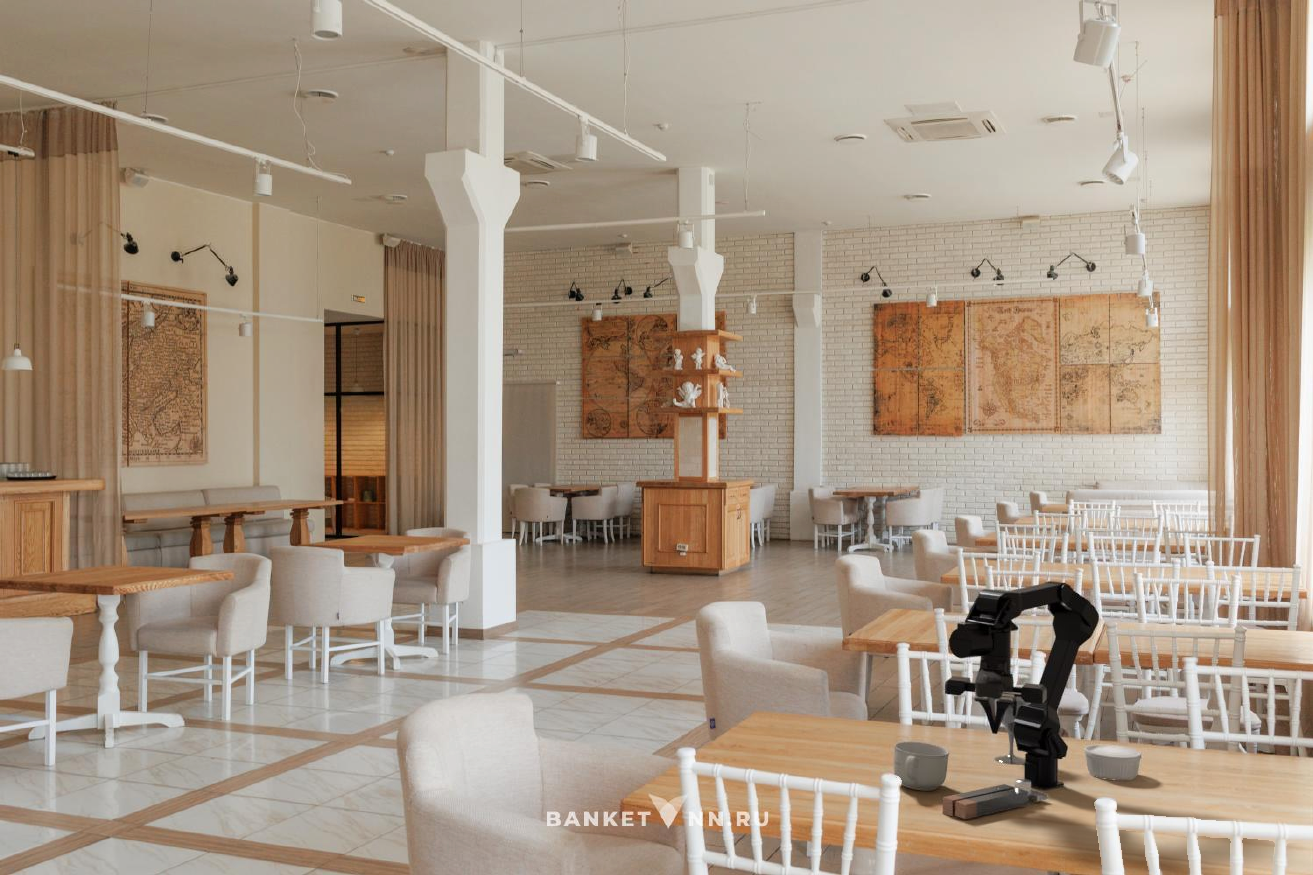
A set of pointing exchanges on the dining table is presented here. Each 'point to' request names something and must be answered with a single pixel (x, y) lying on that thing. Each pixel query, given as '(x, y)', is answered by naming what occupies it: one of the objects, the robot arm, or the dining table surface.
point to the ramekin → (1112, 761)
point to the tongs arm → (991, 803)
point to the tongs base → (1019, 783)
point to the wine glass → (1011, 731)
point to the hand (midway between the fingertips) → (995, 733)
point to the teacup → (920, 765)
